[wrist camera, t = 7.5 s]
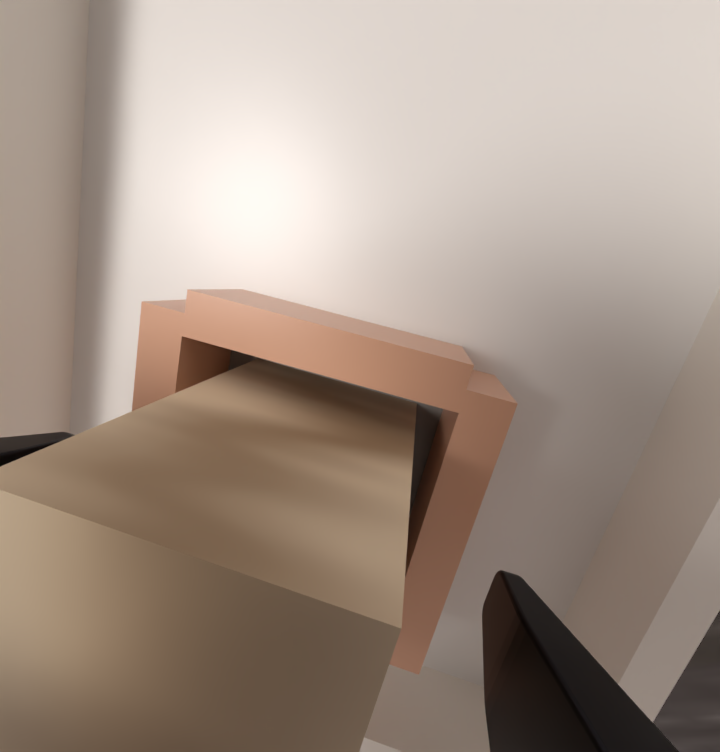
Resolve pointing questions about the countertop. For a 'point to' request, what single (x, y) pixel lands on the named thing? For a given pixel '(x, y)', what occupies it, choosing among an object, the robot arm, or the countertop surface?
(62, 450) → the tan block
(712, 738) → the countertop surface
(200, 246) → the walled box
